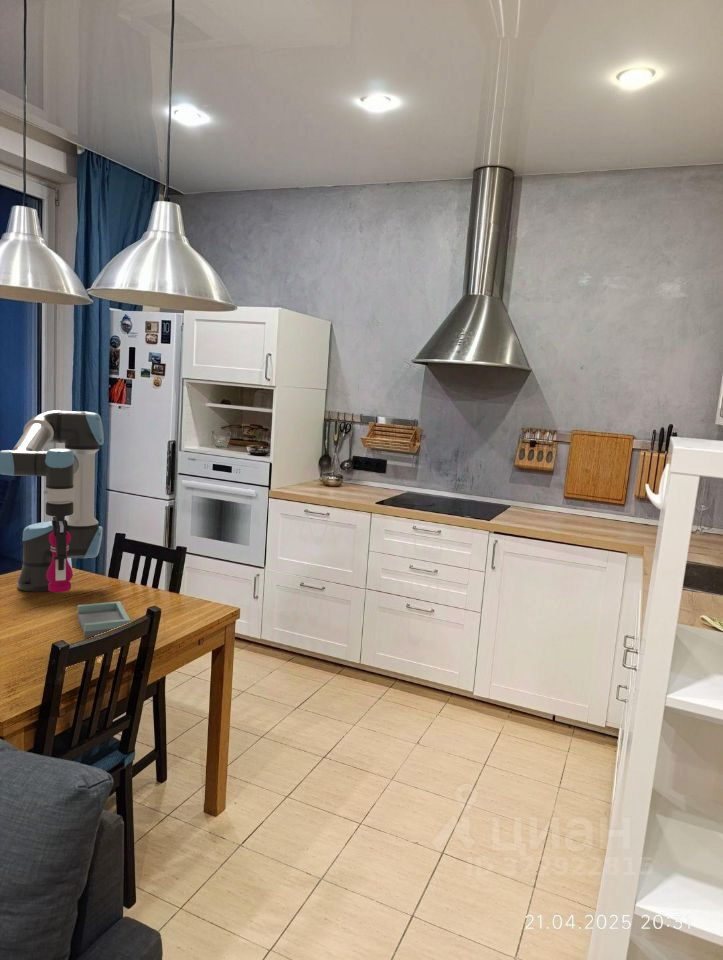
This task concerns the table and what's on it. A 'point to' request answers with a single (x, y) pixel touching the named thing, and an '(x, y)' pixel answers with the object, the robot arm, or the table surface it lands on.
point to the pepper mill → (51, 573)
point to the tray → (101, 617)
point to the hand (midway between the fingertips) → (59, 576)
